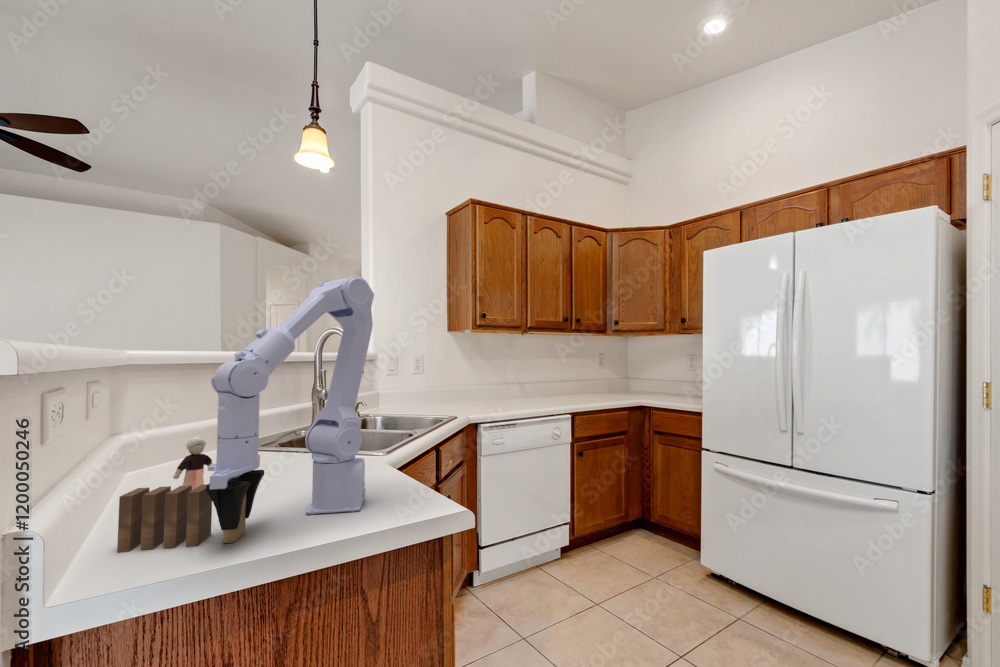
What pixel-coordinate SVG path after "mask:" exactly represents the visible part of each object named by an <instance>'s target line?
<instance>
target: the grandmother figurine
mask: <svg viewBox="0 0 1000 667" xmlns="http://www.w3.org/2000/svg"><path fill="white" fill-rule="evenodd" d="M206 445H207V440H205V438H202V436H201V437H200V436H195V437H192V438H190V439H188V441H187V442H186V444H185V446H186V449H187V450H188V452H189V455H186V456H185V457H184V458H183V460H181V462H180V463H179V464H178V466H177V467H176V470H175V472H174V474H173V476H172V478H173V479H174V480H178V479H179V478H180V477H181V476H180V475H181V474H182V473H183V472H184V473H185V474H184V478H183V481H182V482H183V483H182V486H186V485H192V490H193V489H195V488H197V487H198V486H200V485H205V481H204V469H205V466H207V467H208V466H210V465H212V464H214V463H213V459H211V457H210V456H209V455H207V454H204V453H203V452H204V450H205V447H206ZM184 470H185V471H184Z"/></svg>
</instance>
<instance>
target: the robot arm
mask: <svg viewBox="0 0 1000 667" xmlns="http://www.w3.org/2000/svg"><path fill="white" fill-rule="evenodd" d="M374 297H375V293H374V291H373V289H372V288H371V286H370V285H369V283H368V282H367V280H366V279H365V278H363V277H361V276H358V275H353V276H349V277H346V278H340V279H334V280H325V281H323V282H321V283H320V284H319V285H318V287H315V288H314V289H312V290H311V292H310V294H309V295H308V296H307V297H306V298H305V299H304V300H303V301H302V302H301V303H300V304H299V305H298V306H297V308H296V309H295V310H294V311H292V313H291V314H290V315H289V316H288V317H287V318H286V319H285V320H284V321H283V322H282V323H281V324H280V326H278V327H276V326H275V327H272V326H271V327H267V328H266V329H259V330H258V331H257V332H256V333H255V336H256V338H254V340H253V341H252V342H250V343H249V344H248V345H247V346H246V347H244V349H243V350H238V351H236V352H235V354H234V357H235V358H234V360H231V361H227V362H224V363H222V364H221V365H220V366H218V368H217V369H216V370H215V375H213V378H210V383H211V387H212V389H213V390H214V391H215V392H216V394H217V396H218V398H217V399H218V401H217V403H218V404H217V427H216V428H217V430H216V431H217V432H216V459H215V460H216V463H213V464H212V465H210V466H207V471H208V472H213V473H212V474H211V475H210V476H209V483H208V485H206V492H207V494H208V495H209V496H210V498H211V499H212V504H213V505H214V507H215V510H216V514H217V519H218V522H219V526H220V529H221V531H223V530H234V529H237V528H238V525H239V522H240V517H241V510H242V504H243V500H244V497H245V494H246V510H245V519H249V518H250V517H251V516H250V515H251V513H252V508H253V504H254V501H255V500H254V499H255V496H256V493H257V490H258V488H259V485H260V483H261V481H262V479H263V477H264V475H265V470H264V469H258V468H260V466H261V455H260V454H259V439H260V438H259V437H260V436H259V435H260V433H259V432H260V430H259V429H260V426H259V425H260V393H261V392H263V391H264V390H265V389H266V388H267V387H268V384H269V376H270V375H271V374H272V373H273V372H274V371H275V370H276V369H277V368H278V367H279V366H280V365H281V364H282V363H283V362H284V361H285V360H286V359H287V358H288V357H289V356H290V355H291V354H292V353H293V352H294V351H295V348H296V344H295V342H296V341H295V340H297V338H299V337H300V336H301V335H302V334H303V333H304V332H305V331H307V330H308V329H309V328H310V327H311V326H312V325H314V323H315V322H317V321H318V320H319V319H320V318H321V317H322V316H324V315H325V314H329V316H330V317H331V318H333V319H334V320H335V321H337V323H339V325H340V326H341V328H342V334H341V339H340V342H339V346H338V350H337V356H336V358H335V359H336V360H335V364H334V368H333V372H332V376H331V381H330V385H329V389H328V392H327V399H326V402H325V405H324V407H322V408H321V410H319V411H318V412H317V413H316V414H315V416H314V420H313V423H312V424H311V426H310V427H309V429H308V430H307V432H306V434H305V439H304V441H305V442H304V443H305V447H306V449H307V450H308V452H309V453H311V459H312V487H311V489H312V490H311V492H312V494H311V495H312V496H311V498H312V500H311V504H310V505H309V507H308V508H307V509H306V510H305V514H306V515H312V514H313V515H315V514H328V513H343V512H356V511H357V512H358V511H360V510H361V509H362V507H363V504H364V501H365V499H366V485H365V484H366V483H365V482H366V481H365V480H366V478H365V474H366V468H365V465H366V462H365V458H363V457H356V455H357V454H358V453H359V451H360V448H361V446H362V442H363V440H362V438H363V437H362V430H361V429H362V419H361V418H360V417H359V415H358V414H357V412H356V411H355V408H356V404H357V401H358V395H359V391H360V386H361V382H362V376H363V372H364V368H365V365H366V364H365V363H366V359H367V354H368V350H369V346H370V341H371V336H372V332H373V327H374V322H373V313H372V312H373V311H372V306H373V302H374ZM242 481H247V482H245V483H239V482H242Z"/></svg>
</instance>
